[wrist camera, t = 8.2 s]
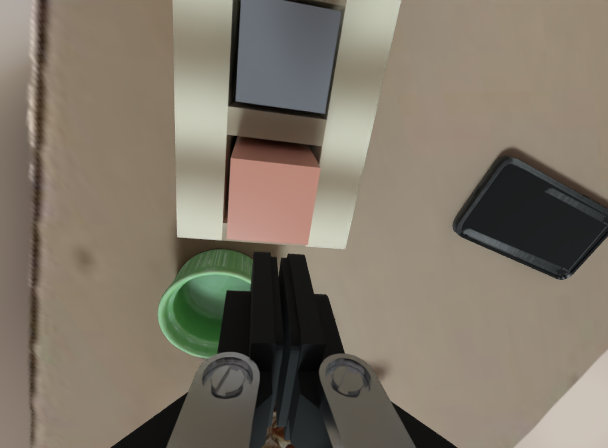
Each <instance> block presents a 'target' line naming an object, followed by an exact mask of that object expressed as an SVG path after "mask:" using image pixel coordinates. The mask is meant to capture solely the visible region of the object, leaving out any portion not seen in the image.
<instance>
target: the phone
mask: <svg viewBox="0 0 608 448" xmlns="http://www.w3.org/2000/svg"><path fill="white" fill-rule="evenodd" d="M490 171H491V172H490ZM480 186H482V187H481V188H480ZM479 188H480V190H479V191H478V189H479ZM477 191H478V193H477V194H476V195H475V193H476V192H477ZM474 195H475V196H474ZM452 226H453V230H454V231H455V232H456V233H457V234H458V235H459V236H461V237H462V238H465V239H467V240H469V241H471V242H474V243H476V244H478V245H481V246H483V247H485V248H487V249H490V250H492V251H494V252H497V253H499V254H501V255H503V256H506V257H508V258H510V259H513V260H515V261H517V262H519V263H522V264H524V265H526V266H529V267H531V268H533V269H536V270H538V271H540V272H542V273H545V274H547V275H549V276H552V277H554V278H556V279H559V280H564V279H567V278H569V277H570V276H572V275H573V274H574V273H575V272H576V270H577V269H578V268H579V267H580V266H581V265H582V264H583V263H584V262H585V261H586V260H587V258H588V257H589V256H590V255H591V254H592V253H593V252H594V251H595V250H596V249H597V248H598V246H599V245H600V244H601V243H602V242H603V241H604V240H605V239H606V238H607V237H608V209H607V208H605V207H604V206H601V205H599V203H597V202H595V201H593V200H590V198H588V197H587V196H585V195H581V194H579V193H578V192H576V191H574V190H572V189H570V188H569V187H567V186H565V185H563V184H561V183H560V182H558V181H556V180H554V179H553V178H551V177H549V176H547V175H545V174H544V173H542V172H540V171H538V170H536V169H535V168H533V167H531V166H529V165H528V164H526V163H524V162H522V161H520V160H519V159H516V158H513V157H510V156H504V157H501V158H499V159H498V160H496V161H495V163H494V164H493V165H492V166H491V168H490V169H489V171H488V172H487V174H486V175H485V176H484V178H483V179H482V181H481V182H480V183H479V185H478V186H477V188H476V189H475V191H474V192H473V193H472V195H471V196H470V198H469V199H468V201H467V202H466V203H465V205H464V206H463V208H462V209H461V211H460V212H459V213H458V215H457V216H456V218H455V219H454V221H453V225H452Z"/></svg>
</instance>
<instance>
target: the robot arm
mask: <svg viewBox="0 0 608 448" xmlns="http://www.w3.org/2000/svg"><path fill="white" fill-rule="evenodd" d="M275 404H276V424H277V427H284V440H285V441H290V443H291V444H292V445H293V446H294V447H295V448H457V447H456V446H455V445H453V444H452V443H450V442H449V441H447V440H446V439H444V438H443V437H442V436H440V435H439V434H437V433H436V432H434V431H433V430H431V429H430V428H429V427H427V426H426V425H424V424H423V423H421V422H420V421H418V420H417V419H416V418H414V417H413V416H411V415H410V414H408V413H407V412H405V411H404V410H403V409H401V408H400V407H398V406H397V405H395V404H394V403H392V402H391V401H390V399H389V397H388V396H387V394H386V392H385V390H384V388H383V386H382V385H381V383H380V381H379V379H378V377H377V375H376V374H375V372H374V371H373V369H372V368H371V367H370V366H369V365H368V364H367V363H366V362H365V361H363V360H362V359H360V358H358V357H356V356H353V355H349V354H345V353H344V349H343V346H342V342H341V339H340V336H339V332H338V329H337V325H336V322H335V319H334V315H333V312H332V308H331V305H330V302H329V298H328V296H327V295H326V294H314V292H313V288H312V284H311V279H310V275H309V271H308V267H307V262H306V258H305V255H300V254H288V255H287V258H281V262H280V270H279V277H278V267H277V257H271V253H269V252H254V255H253V265H252V276H251V287H250V291H234V290H227V291H226V298H225V304H224V311H223V318H222V325H221V331H220V338H219V345H218V351H217V354H216V355H214V356H212V357H210V358H208V359H207V360H206V361H204V362H203V363H202V364H201V365H200V367H199V368H198V370H197V372H196V374H195V377H194V379H193V382H192V384H191V387H190V389H189V392H187V393H186V394H185V395H183V396H182V397H180V398H179V399H178V400H176V401H175V402H173V403H172V404H171V405H169V406H168V407H167V408H165V409H164V410H162V411H161V412H160V413H158V414H157V415H155V416H154V417H153V418H151V419H150V420H148V421H147V422H146V423H144V424H143V425H141V426H140V427H139V428H137V429H136V430H135V431H133V432H132V433H130V434H129V435H128V436H126V437H125V438H123V439H122V440H121V441H119V442H118V443H116V444H115V445H114V446H112V447H111V448H262V447H263V446H264V444H265V441H266V435H267V428H268V427H271V425H272V419H273V412H274V406H275Z"/></svg>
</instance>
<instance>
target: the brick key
mask: <svg viewBox="0 0 608 448" xmlns="http://www.w3.org/2000/svg"><path fill="white" fill-rule="evenodd" d="M320 170H321V167H320V166H319V164H318V162H317V160H316V159H315V157H314V155H313V153H312V151H311V150H310V148H309V146H308V144H300V143H292V142H284V141H275V140H267V139H259V138H251V137H243V136H238V138H237V141H236V144H235V147H234V150H233V153H232V156H231V163H230V182H229V202H228V221H227V239H231V240H245V241H259V242H273V243H287V244H301V245H308V241H309V235H310V229H311V223H312V217H313V211H314V205H315V200H316V194H317V188H318V182H319V176H320Z"/></svg>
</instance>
